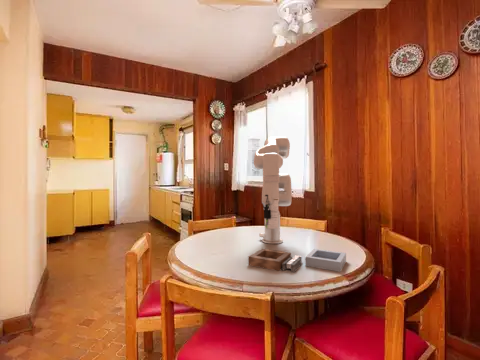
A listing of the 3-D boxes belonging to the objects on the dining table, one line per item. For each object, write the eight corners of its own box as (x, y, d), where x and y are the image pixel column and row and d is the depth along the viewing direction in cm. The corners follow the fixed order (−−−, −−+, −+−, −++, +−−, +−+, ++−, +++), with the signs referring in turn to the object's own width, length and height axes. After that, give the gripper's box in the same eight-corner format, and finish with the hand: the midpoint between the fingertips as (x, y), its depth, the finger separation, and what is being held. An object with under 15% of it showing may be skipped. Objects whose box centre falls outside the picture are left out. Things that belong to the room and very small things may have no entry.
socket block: (248, 265, 119) (248, 256, 119) (262, 256, 132) (262, 248, 132) (292, 273, 109) (292, 264, 109) (303, 263, 121) (303, 254, 121)
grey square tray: (305, 265, 118) (305, 256, 118) (314, 256, 131) (314, 248, 131) (340, 271, 110) (340, 262, 110) (346, 261, 123) (346, 253, 123)
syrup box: (264, 226, 124) (263, 196, 124) (276, 226, 125) (276, 196, 124) (266, 229, 119) (266, 197, 118) (279, 228, 119) (278, 197, 119)
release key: (285, 269, 113) (285, 263, 113) (295, 260, 124) (295, 254, 124) (292, 270, 111) (292, 264, 111) (301, 261, 122) (301, 255, 122)
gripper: (271, 179, 131) (271, 214, 131) (255, 180, 116) (255, 219, 116) (285, 179, 127) (285, 215, 127) (270, 180, 112) (270, 220, 112)
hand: (271, 216), depth 122 cm, fingers closed on syrup box, 8 cm apart
